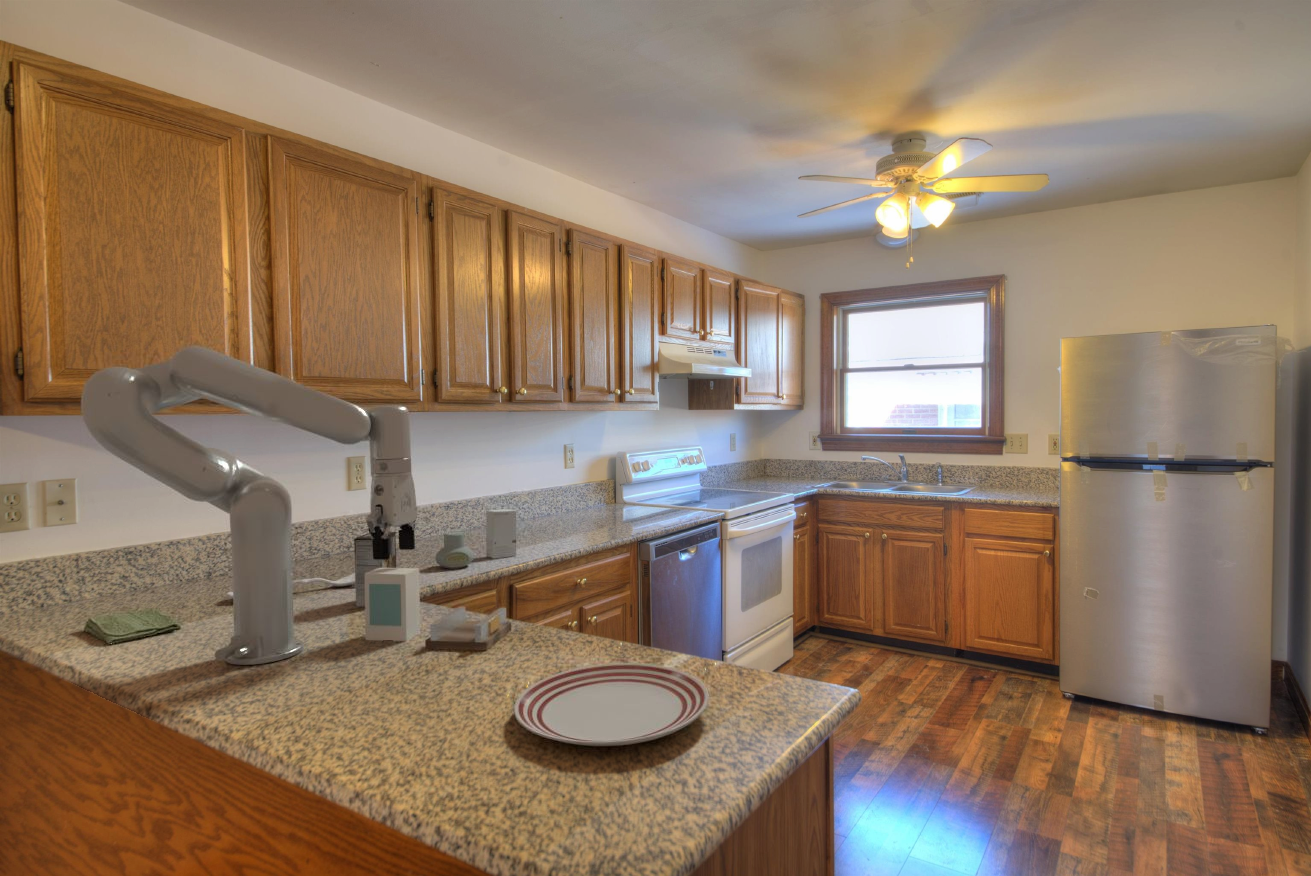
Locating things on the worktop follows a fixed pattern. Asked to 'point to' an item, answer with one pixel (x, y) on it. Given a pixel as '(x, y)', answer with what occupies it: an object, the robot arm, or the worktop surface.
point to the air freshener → (454, 551)
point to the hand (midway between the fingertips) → (394, 554)
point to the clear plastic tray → (458, 618)
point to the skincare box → (500, 533)
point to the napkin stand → (467, 638)
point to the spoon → (341, 582)
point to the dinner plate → (611, 704)
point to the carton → (392, 604)
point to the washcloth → (131, 625)
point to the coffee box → (369, 562)
